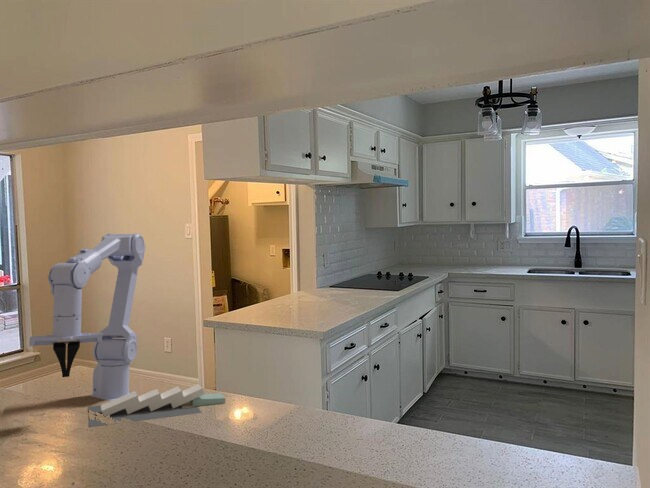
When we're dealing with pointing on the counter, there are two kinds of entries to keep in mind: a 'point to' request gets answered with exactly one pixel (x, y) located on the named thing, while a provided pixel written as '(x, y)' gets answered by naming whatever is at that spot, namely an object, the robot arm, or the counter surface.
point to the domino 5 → (208, 400)
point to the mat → (146, 413)
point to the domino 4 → (188, 395)
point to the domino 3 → (167, 398)
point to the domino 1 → (119, 403)
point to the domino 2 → (145, 401)
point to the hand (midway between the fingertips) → (65, 376)
